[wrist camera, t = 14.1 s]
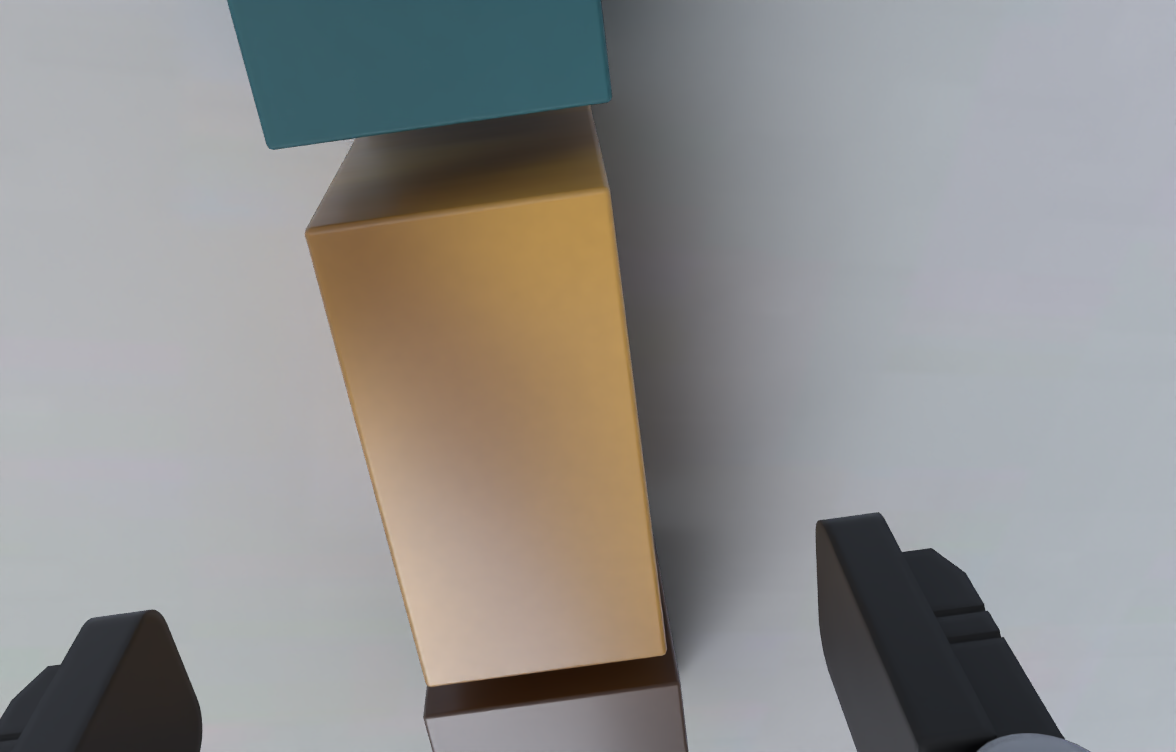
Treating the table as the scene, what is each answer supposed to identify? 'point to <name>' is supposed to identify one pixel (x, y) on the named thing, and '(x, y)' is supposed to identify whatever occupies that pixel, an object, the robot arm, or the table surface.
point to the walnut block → (566, 708)
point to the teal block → (415, 63)
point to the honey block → (495, 391)
